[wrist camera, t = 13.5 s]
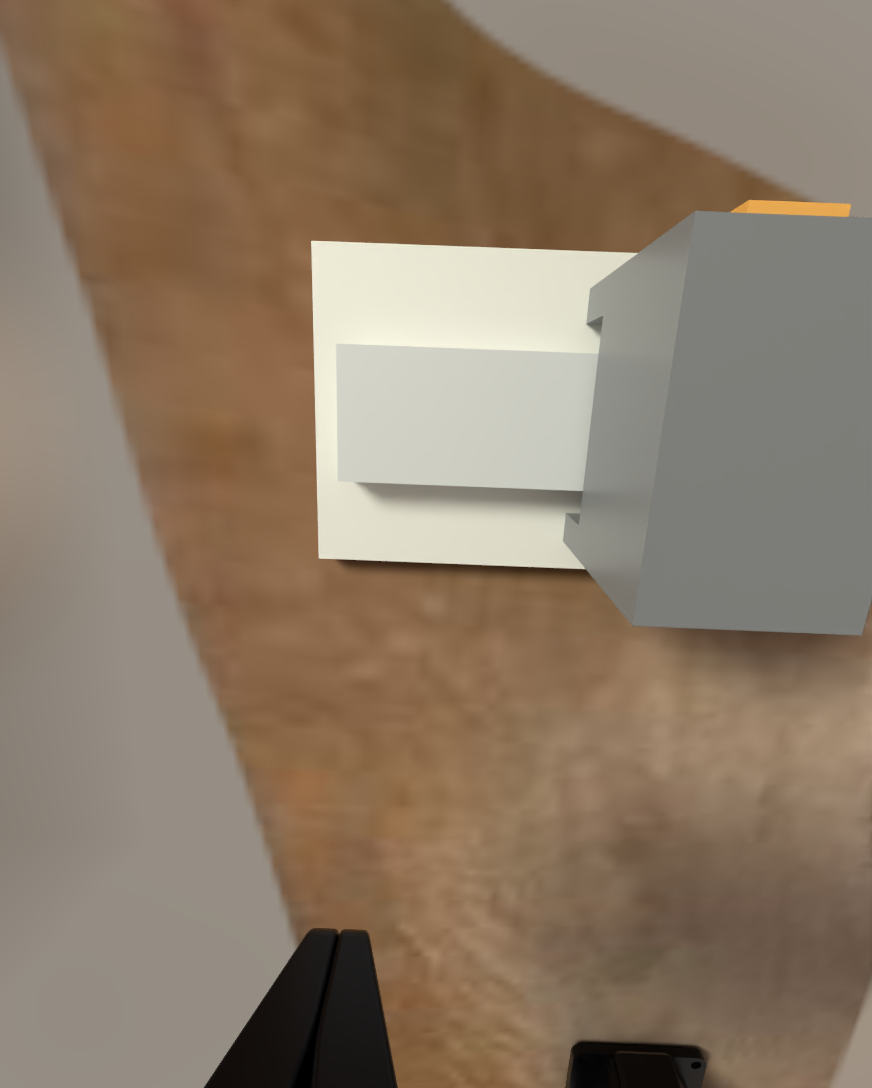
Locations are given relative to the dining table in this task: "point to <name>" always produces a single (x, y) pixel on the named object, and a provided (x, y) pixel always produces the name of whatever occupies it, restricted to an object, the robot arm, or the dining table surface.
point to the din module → (735, 425)
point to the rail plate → (445, 321)
